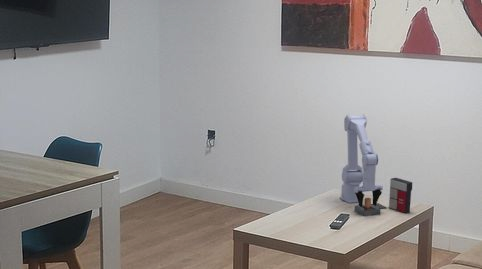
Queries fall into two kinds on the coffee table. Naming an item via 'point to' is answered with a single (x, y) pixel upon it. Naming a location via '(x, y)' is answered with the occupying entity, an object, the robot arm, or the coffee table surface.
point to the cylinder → (367, 203)
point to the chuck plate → (367, 210)
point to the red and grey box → (400, 195)
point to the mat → (379, 206)
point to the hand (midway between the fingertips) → (367, 205)
